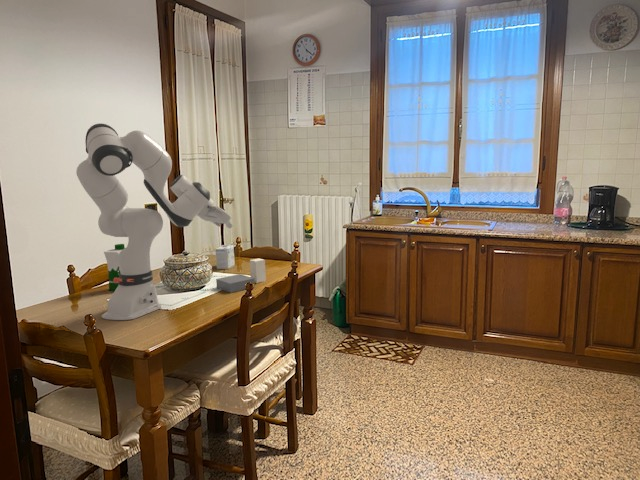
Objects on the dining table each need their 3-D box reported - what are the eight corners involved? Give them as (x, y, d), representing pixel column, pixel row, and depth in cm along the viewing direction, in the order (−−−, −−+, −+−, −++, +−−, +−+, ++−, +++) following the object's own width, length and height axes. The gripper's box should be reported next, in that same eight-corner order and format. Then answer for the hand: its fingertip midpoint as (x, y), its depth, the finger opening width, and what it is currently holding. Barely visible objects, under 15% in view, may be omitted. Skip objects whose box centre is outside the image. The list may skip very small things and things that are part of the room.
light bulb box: (223, 264, 269) (221, 244, 268) (235, 264, 268) (233, 244, 267) (216, 269, 259) (214, 248, 257) (228, 269, 258) (227, 248, 256)
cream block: (256, 283, 227) (255, 261, 225) (250, 281, 231) (249, 260, 229) (266, 281, 230) (264, 259, 229) (260, 279, 234) (258, 258, 232)
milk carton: (135, 287, 228) (131, 244, 225) (121, 292, 220) (116, 247, 216) (120, 286, 231) (115, 243, 228) (105, 291, 223) (100, 247, 219)
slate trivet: (230, 292, 212) (230, 283, 212) (216, 287, 221) (216, 279, 221) (254, 287, 220) (254, 278, 219) (240, 282, 229) (239, 274, 228)
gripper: (219, 201, 202) (242, 222, 210) (196, 198, 217) (218, 218, 225) (210, 213, 200) (233, 234, 207) (187, 210, 215) (209, 229, 223)
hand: (225, 226), depth 216 cm, fingers open, 8 cm apart
